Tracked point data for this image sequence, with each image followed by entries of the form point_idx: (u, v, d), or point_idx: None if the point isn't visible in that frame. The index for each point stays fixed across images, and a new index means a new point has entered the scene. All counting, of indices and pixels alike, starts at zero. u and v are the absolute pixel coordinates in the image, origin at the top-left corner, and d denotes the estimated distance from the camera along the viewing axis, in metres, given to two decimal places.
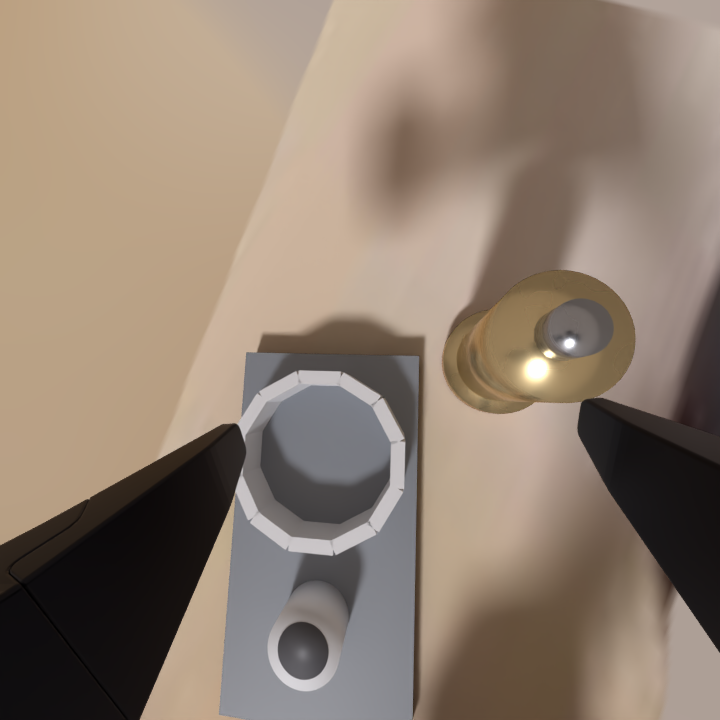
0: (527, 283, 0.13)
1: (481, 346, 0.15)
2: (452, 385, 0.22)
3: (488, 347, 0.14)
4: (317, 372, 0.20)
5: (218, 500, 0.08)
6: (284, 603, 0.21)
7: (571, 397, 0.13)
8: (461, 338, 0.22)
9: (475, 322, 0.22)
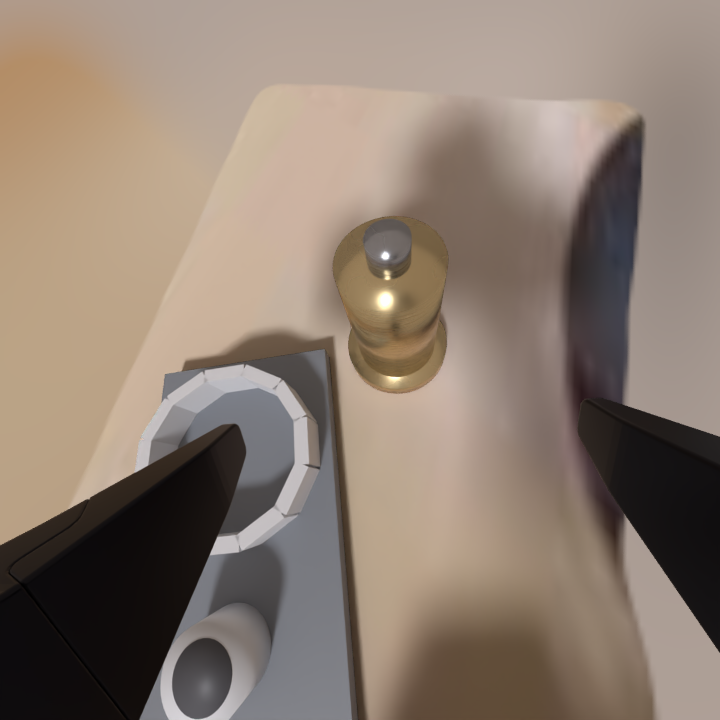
0: (357, 230, 0.16)
1: None
2: (358, 370, 0.23)
3: None
4: (222, 369, 0.21)
5: (218, 500, 0.08)
6: None
7: (404, 305, 0.14)
8: None
9: None
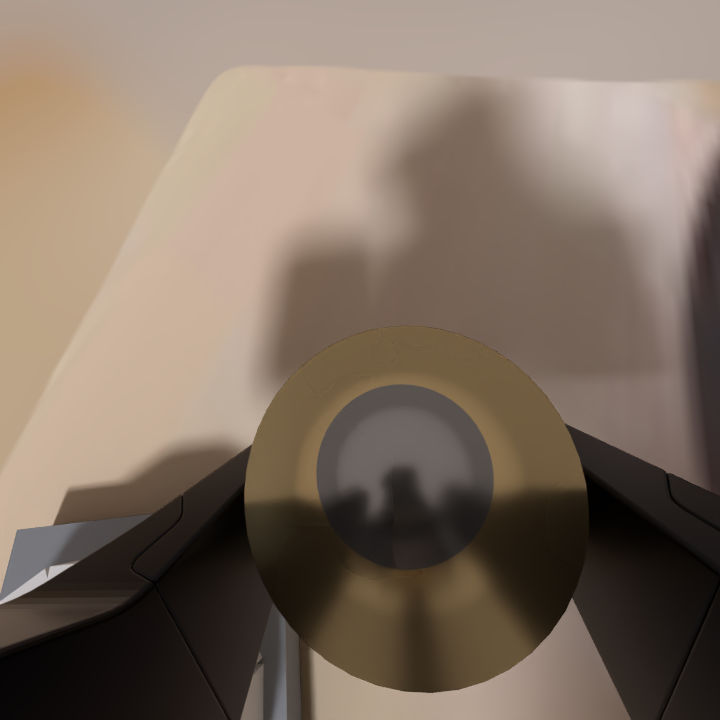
0: (319, 364, 0.06)
1: None
2: None
3: None
4: None
5: None
6: None
7: (457, 668, 0.04)
8: None
9: None
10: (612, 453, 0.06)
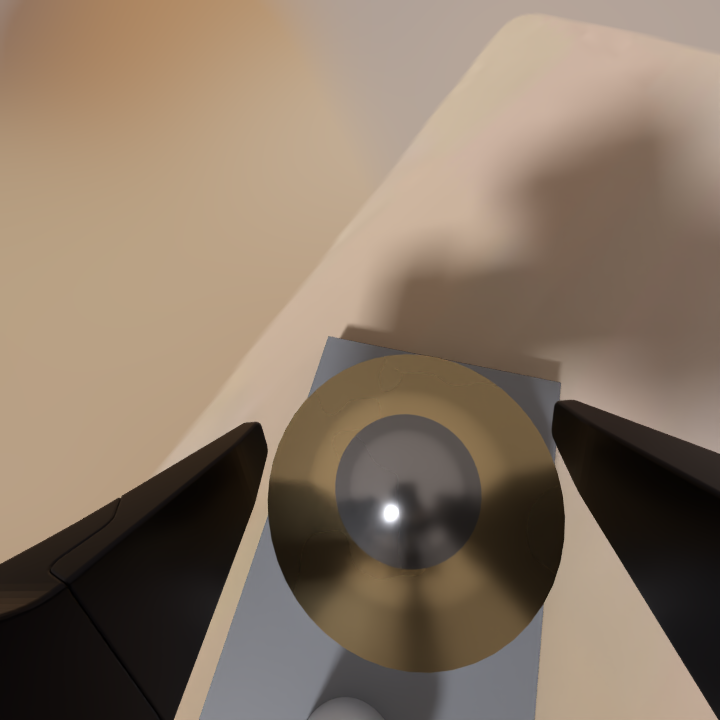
0: (331, 388, 0.07)
1: None
2: None
3: None
4: None
5: (243, 499, 0.08)
6: None
7: (451, 652, 0.05)
8: None
9: None
10: (690, 449, 0.05)
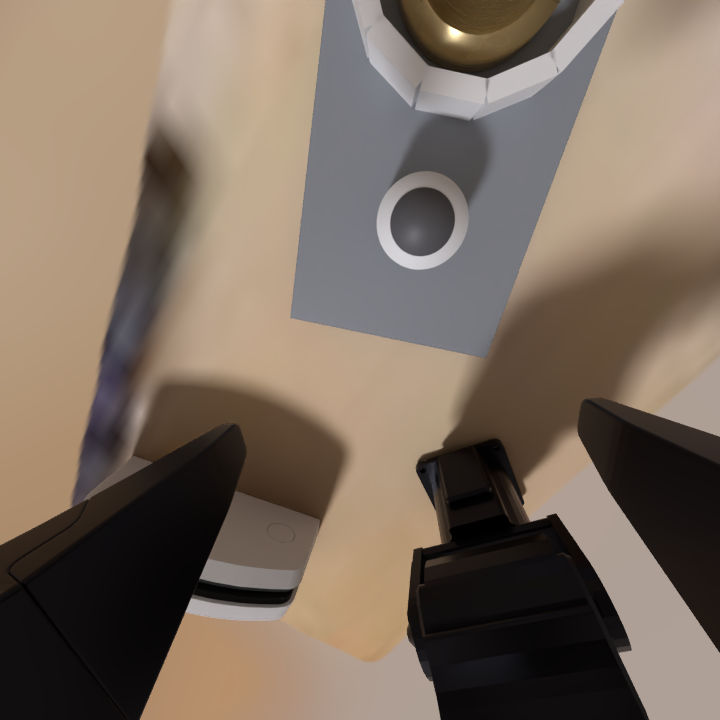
0: None
1: None
2: (419, 26, 0.13)
3: None
4: None
5: (218, 500, 0.08)
6: (377, 205, 0.17)
7: None
8: None
9: None
10: None
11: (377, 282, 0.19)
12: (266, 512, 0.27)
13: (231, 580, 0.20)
